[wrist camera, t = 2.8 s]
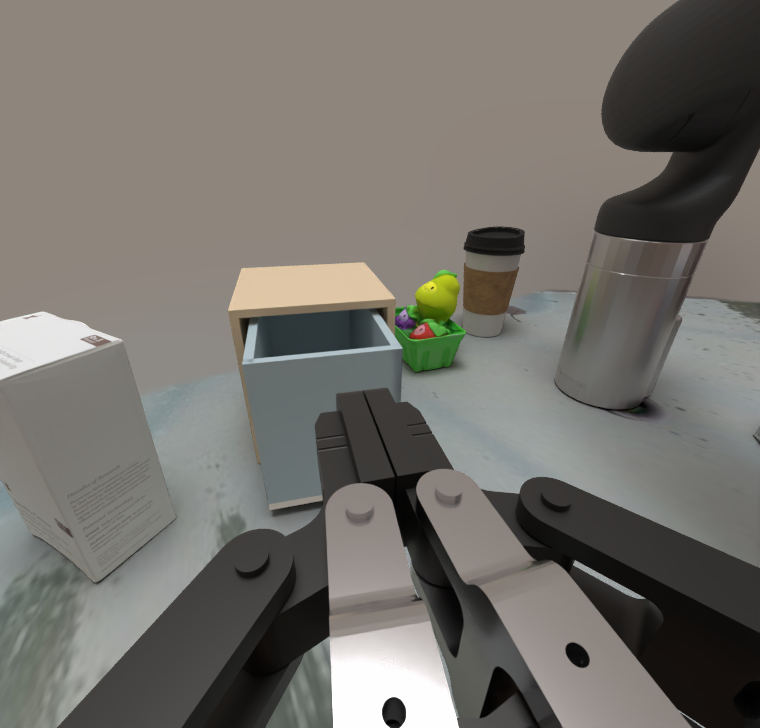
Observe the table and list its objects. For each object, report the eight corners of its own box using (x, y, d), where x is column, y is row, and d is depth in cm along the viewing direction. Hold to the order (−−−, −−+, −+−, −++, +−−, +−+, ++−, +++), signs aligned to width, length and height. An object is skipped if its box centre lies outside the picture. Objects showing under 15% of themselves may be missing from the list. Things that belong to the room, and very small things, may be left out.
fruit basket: (378, 342, 55) (378, 264, 49) (432, 334, 57) (438, 260, 52) (409, 379, 45) (414, 289, 40) (472, 368, 48) (484, 281, 43)
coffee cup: (520, 332, 58) (541, 231, 51) (483, 345, 54) (500, 237, 47) (479, 316, 64) (492, 224, 57) (443, 326, 60) (452, 228, 53)
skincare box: (30, 534, 26) (-97, 340, 19) (117, 477, 31) (41, 306, 24) (101, 589, 23) (-20, 379, 16) (187, 516, 28) (122, 330, 20)
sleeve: (365, 379, 45) (364, 262, 38) (391, 443, 35) (395, 298, 28) (262, 391, 43) (241, 268, 36) (257, 464, 32) (227, 310, 26)
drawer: (355, 374, 44) (352, 274, 39) (397, 487, 29) (402, 348, 23) (272, 384, 42) (256, 279, 37) (269, 510, 27) (242, 364, 21)
